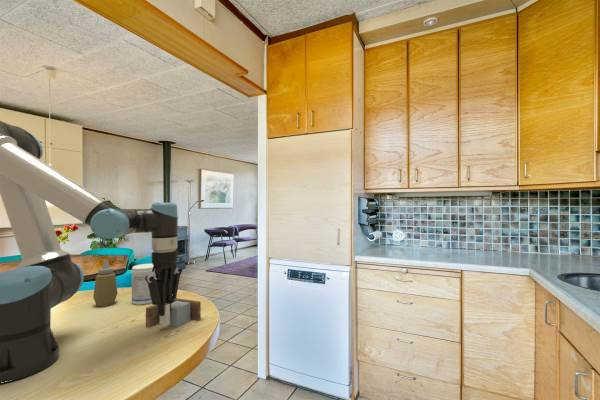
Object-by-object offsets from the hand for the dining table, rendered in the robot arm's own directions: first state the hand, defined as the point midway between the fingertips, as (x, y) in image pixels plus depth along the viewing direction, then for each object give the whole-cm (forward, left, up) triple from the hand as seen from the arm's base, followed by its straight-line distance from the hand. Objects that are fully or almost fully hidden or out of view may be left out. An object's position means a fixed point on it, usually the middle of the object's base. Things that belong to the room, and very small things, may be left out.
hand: (164, 324), depth 89 cm
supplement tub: (+18, +29, -2) cm, 34 cm away
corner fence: (+5, +1, -1) cm, 5 cm away
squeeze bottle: (+10, +41, -2) cm, 42 cm away
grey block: (+5, 0, -1) cm, 5 cm away
